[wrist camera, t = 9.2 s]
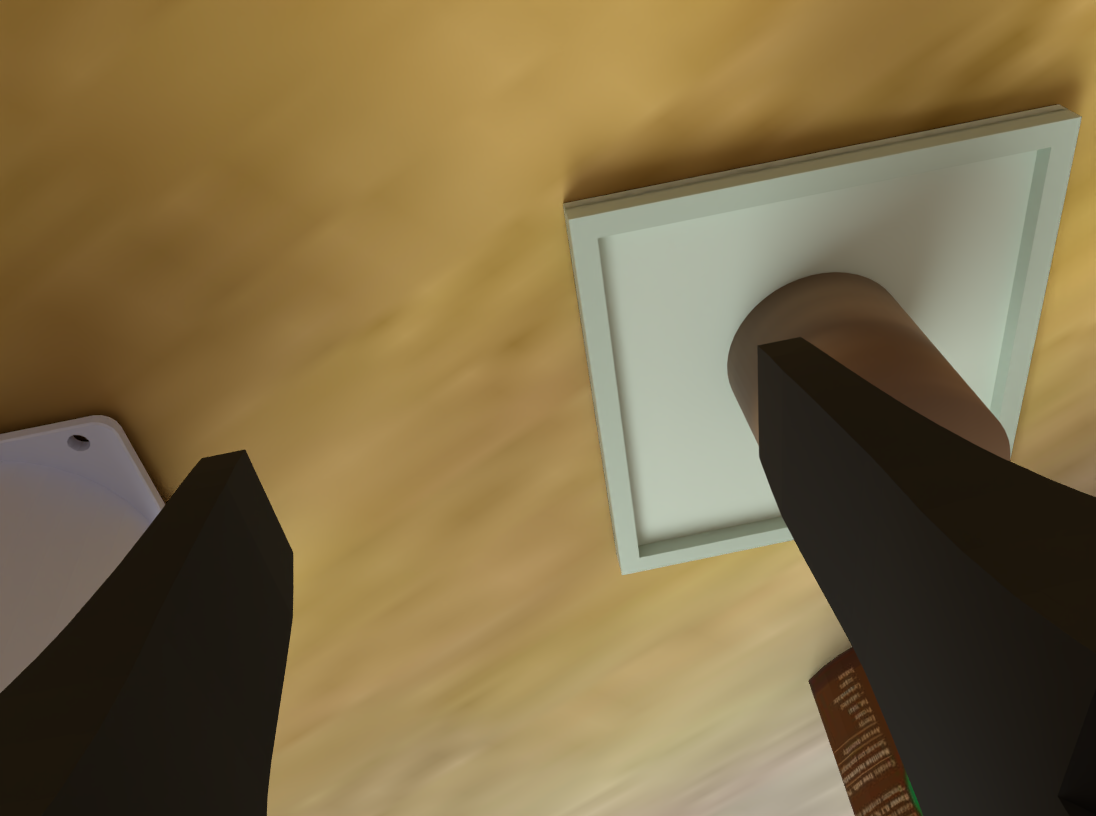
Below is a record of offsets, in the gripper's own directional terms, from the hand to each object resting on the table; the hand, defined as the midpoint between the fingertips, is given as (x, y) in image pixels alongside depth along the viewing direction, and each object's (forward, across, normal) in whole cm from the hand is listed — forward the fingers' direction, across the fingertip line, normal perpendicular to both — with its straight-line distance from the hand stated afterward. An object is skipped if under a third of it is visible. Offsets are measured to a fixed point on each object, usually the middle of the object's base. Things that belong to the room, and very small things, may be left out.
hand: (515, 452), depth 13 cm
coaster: (+10, -8, +7) cm, 15 cm away
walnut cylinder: (+10, -8, +6) cm, 14 cm away
